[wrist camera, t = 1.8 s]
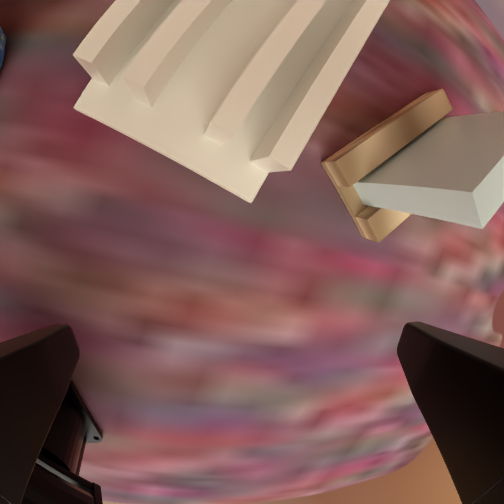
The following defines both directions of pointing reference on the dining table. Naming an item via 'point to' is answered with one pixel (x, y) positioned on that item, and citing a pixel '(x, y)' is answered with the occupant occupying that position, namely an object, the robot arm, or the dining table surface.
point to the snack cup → (2, 46)
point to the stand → (381, 160)
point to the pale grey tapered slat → (444, 172)
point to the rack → (222, 78)
